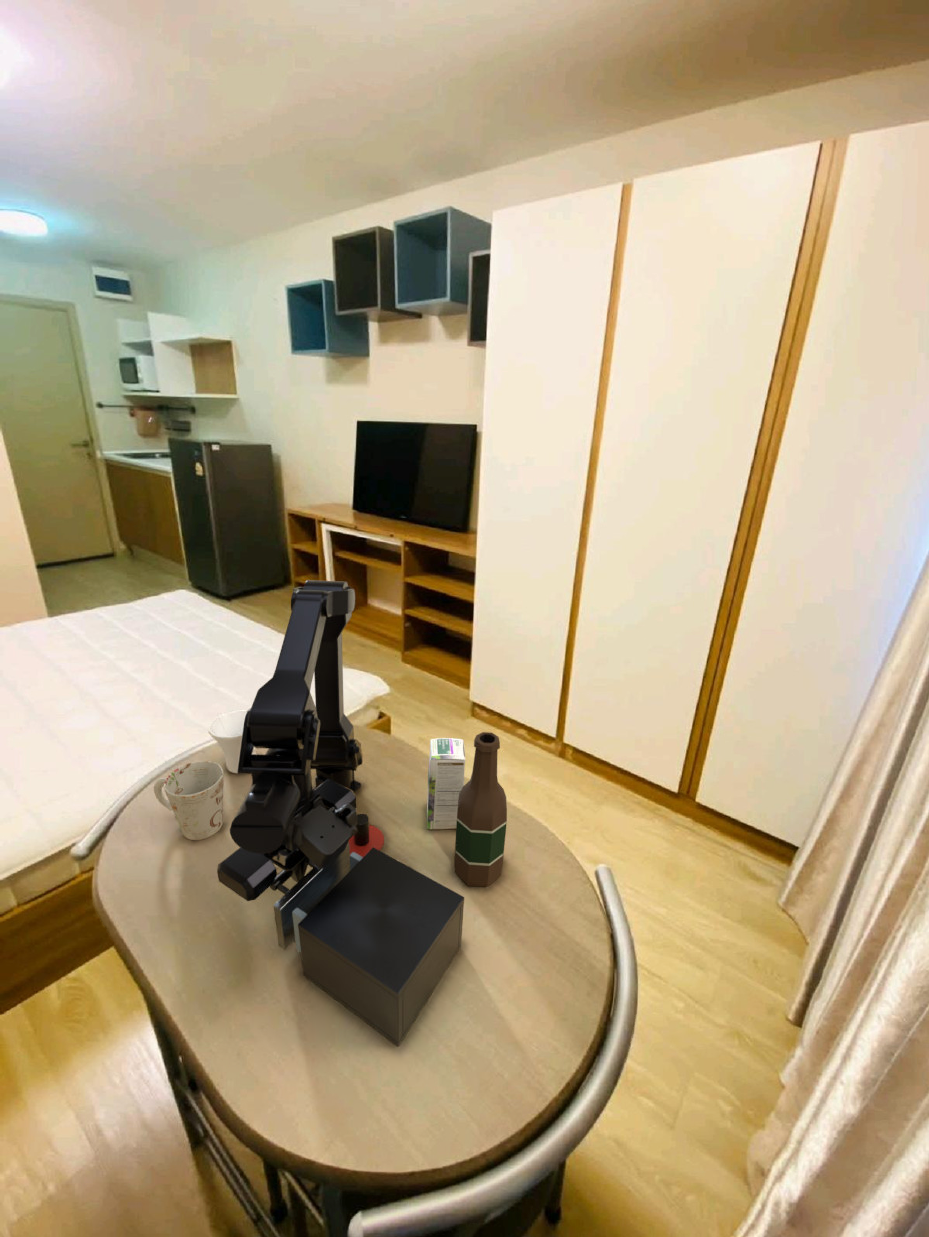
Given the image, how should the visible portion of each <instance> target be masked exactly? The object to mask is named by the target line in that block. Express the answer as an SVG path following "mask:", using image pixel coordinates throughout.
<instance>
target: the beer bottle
mask: <svg viewBox="0 0 929 1237" xmlns="http://www.w3.org/2000/svg"><path fill="white" fill-rule="evenodd" d="M473 740H474V741H473V747H474V748H475V750H474V757H473V765H472V771H471V775H470V779H469V781H467V782H466V783H464V786H463V788H462V790H461V792H460V793H459V799H458V809H457V824H456V829H455V846H454V873H455V874H456V875H457V877H459V878H460V879H461V881H462V882H464V883H465V884H466V885H467V886H472V887H489V885H491V884H492V883H493V882H495V881H496V880H497V879H499V877H501V876H502V870H503V864H504V853H505V844H506V843H505V842H506V834H507V833H506V832H507V825H508V824H507V823H508V806H507V805H508V804H507V803H508V802H507V795H506V793H505V789H504V788H503V786H502V785H501V784H500V783H499V779H498V750H499V749H501V742H500V741H501V740H500V738H499V736H498V735H496V733H495V734H494V733H493V732H487V731H482V732H480V733H478V734H476V735H475V737H474V739H473Z"/></svg>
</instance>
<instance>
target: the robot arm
mask: <svg viewBox="0 0 929 1237" xmlns="http://www.w3.org/2000/svg"><path fill="white" fill-rule="evenodd" d="M355 605H356V590H355V589H354V588H352V587H351V586H349V584H348V581H343V580H341V581H340V580H339V581H337V580H317V579H316V580H315V579H314V580H312V579H308V580H307V579H306V581H305V583H304V585H303V586H297V587H293V588H292V593H291V597H290V611H291V613H290V616H289V619H288V623H287V627H286V630H285V634H284V637H283V641H282V644H281V648H280V652H279V654H278V658H277V663H276V666H275V670H274V672H273V674H272V677H271V678H270V679H269V680H267V682H265V683H264V684H263V685H262V686H261V687H259V688H258V690H257V692H256V694H255V697H254V699H253V702H252V704H251V707H250V708H249V709H248V710H246V711H247V713H246V716H245V720H244V727H243V734H242V742H241V749H240V757H239V764H238V773H237V774H241V775H243V774H244V775H251V779H252V782H251V786H250V788H249V790H248V791H247V794H246V795H245V798H244V799H243V800H242V803H241V805H240V806H239V808H238V811H237V812H236V814H235V816H234V817H233V819H232V821H231V824H230V828H229V834H230V837H231V839H232V841H233V843H234V844H236V845H237V847H239V848H238V849H236V850H235V851H233V852H232V853H231V854H230V855H229V856H227V857H226V858H225V859H223V860H222V861H220V862H219V863H218V865H217V868H216V871H217V878H218V882H219V883H220V884H222V885H223V886H225V887H226V888H228V889H229V890H231V891H232V892H234V893H235V894H237V895H238V896H239V897H241V898H242V899H243V900H245V901H247V902H251V901H255V900H257V899H258V898H259V897H260V896H261V895H262V894H263V893H264V892H265V891H267V890H268V889H269V888H270V886H271V885H272V884H273V882H274V880H275V878H276V876H277V875H278V872H277V870H278V869H277V867H278V868H279V869H281V870H282V871H283V870H285V871H287V873H288V874H289V875H290V876H291V877H290V878H291V879H292V880H293V881H295V882H296V884H297V883H298V882H299V881H300V880H301V879H302V878H303V877H304V876H305V875H306V873H307V869H308V866H309V865H308V863H309V860H310V859H311V860H312V861H313V862H314V864H315V865H316V866H317V867H318V868H321V869H324V868H327V867H328V866H329V865H330V864H331V863H332V862H333V861H334V860H335V859H336V858H337V857H338V856H339V855H340V854H341V853H343V852H344V850H345V849H346V847H347V844H348V842H349V839H350V838H351V837H352V836H353V835H354V834H356V833H357V828H356V824H357V821H358V819H357V815H358V813H357V808H358V807H357V806H358V805H357V804H358V803H357V795H356V792H357V791H358V790H359V789H360V788H362V783H361V782H360V781H357V780H355V772H356V771H357V770H358V767H359V766H361V765H363V761H364V760H363V750H362V744H361V742H360V741H359V740H358V739H357V738H355V731H354V725H353V723H352V722H351V721H350V720H349V718H348V717H347V716H346V714H345V712H344V711H345V709H344V707H345V706H344V704H345V703H344V666H343V665H344V664H343V663H344V662H343V631H344V630H345V628H346V627H347V625H348V623H349V622H350V620H351V618H352V615H353V614H352V612H354V610H355ZM313 678H314V698H315V699H313V696H312V694H311V688H312V683H313ZM254 747H255V748H256V749H267V750H266V751H265V753H264V754H257V753H256V754H253V755H252V752H253V748H254ZM312 770H315V775H316V776H315V777H314V780H315V782H314V783H315V787H313V778H312Z"/></svg>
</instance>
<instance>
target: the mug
mask: <svg viewBox="0 0 929 1237" xmlns="http://www.w3.org/2000/svg"><path fill="white" fill-rule="evenodd" d="M224 778H225V776H224V770H223V768H222V766H221V765H220V764H219V763H218V762H214V761H211V760H198V761H193V762H190V763H186V764H183V765H181V766H179V767H177V768H176V769H174V770H172V772H170V773H169V774H168V776H166V777H161V778H159V779H157V780H156V782H155V783H154V786H153V793H154V796H155V798H156V799H157V801H158V802H159V803H160V805H162V806H163V807H165V808H166V809H167V810H169V811H171V812H173V814H174V816H175V818H176V821H177V823H178V825H179V828H180V831H181V834H182V835H183V836H184V838H186V839H187V840H190V841H201V840H205V839H208V838H209V837H212V836H214V835H215V834H216V833H218V832H219V831H220V830H221V828H222V827H223V825H224V784H225V783H224V782H225V781H224ZM163 789H164V792H165V795H166V797H165V796H164V795H163V793H162V790H163ZM166 798H167V799H166Z"/></svg>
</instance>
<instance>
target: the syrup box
mask: <svg viewBox="0 0 929 1237" xmlns="http://www.w3.org/2000/svg"><path fill="white" fill-rule="evenodd" d="M465 748H466V747H465V742H464V739H462V738H454V737H453V738H452V737H437V738H431V739H430V740H429V756H428V773H427V798H426V799H427V803H426V806H427V807H426V827H427V830H453V829H455V830H456V824H457V809H458V799H459V793H460V792H461V790H462V788H463V786H464V785H465V772H466V749H465Z"/></svg>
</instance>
